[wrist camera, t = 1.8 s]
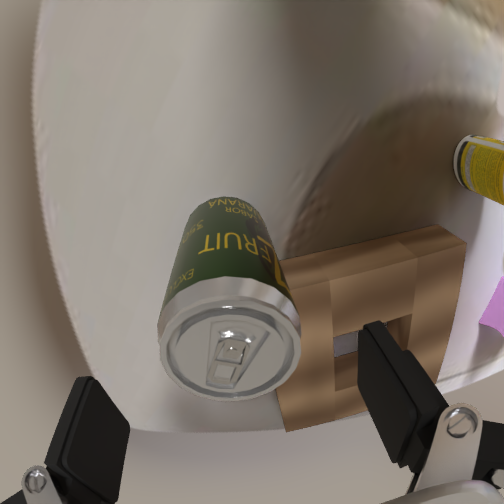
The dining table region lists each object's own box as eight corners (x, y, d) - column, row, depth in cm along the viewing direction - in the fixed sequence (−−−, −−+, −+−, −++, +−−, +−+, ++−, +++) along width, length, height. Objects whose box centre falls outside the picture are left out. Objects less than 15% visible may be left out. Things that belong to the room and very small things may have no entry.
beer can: (251, 275, 23) (276, 411, 12) (178, 257, 22) (146, 390, 11) (275, 205, 21) (333, 311, 10) (196, 184, 20) (164, 274, 9)
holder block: (248, 267, 22) (253, 298, 19) (437, 224, 22) (466, 243, 19) (279, 401, 29) (286, 432, 25) (419, 359, 29) (435, 383, 25)
